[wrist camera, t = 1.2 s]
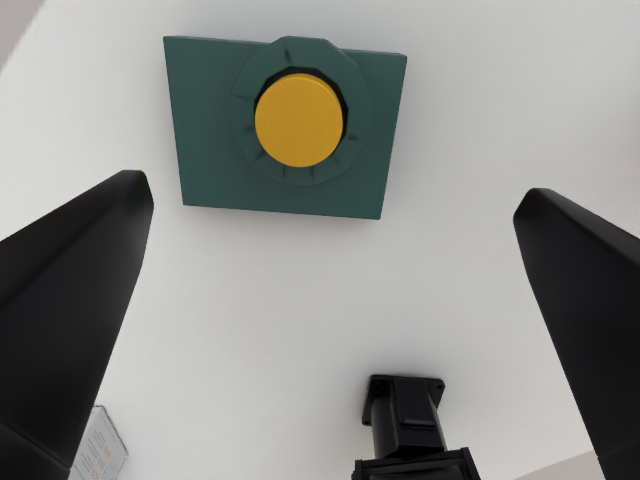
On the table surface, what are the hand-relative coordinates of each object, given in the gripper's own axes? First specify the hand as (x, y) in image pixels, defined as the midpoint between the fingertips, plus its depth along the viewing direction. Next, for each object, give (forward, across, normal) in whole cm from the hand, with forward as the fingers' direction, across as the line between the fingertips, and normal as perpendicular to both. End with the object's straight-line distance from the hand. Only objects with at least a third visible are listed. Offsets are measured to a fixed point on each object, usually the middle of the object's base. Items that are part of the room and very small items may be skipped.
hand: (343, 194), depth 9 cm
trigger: (+10, +1, +3) cm, 11 cm away
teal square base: (+14, +1, +6) cm, 15 cm away
